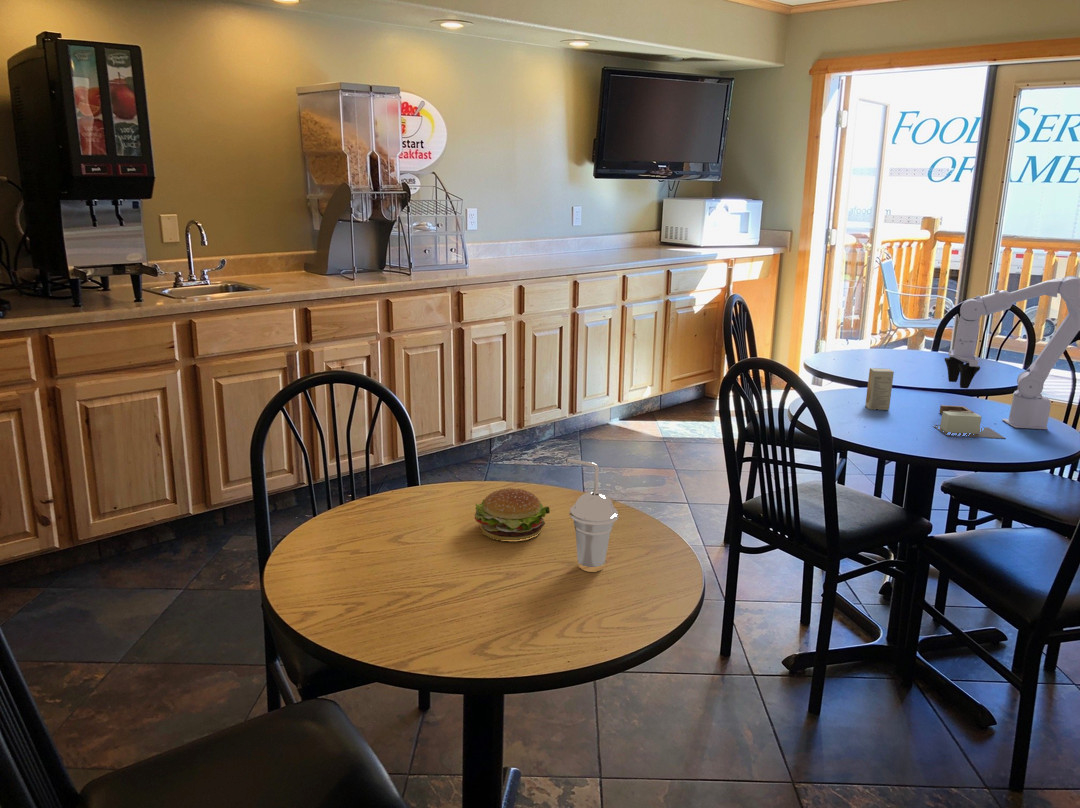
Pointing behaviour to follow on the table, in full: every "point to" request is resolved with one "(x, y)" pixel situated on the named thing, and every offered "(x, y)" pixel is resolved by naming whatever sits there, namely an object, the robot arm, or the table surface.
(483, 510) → the food
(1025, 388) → the robot arm
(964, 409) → the frame
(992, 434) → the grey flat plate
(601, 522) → the cup with straw
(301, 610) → the table surface
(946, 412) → the block
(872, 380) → the skincare box
